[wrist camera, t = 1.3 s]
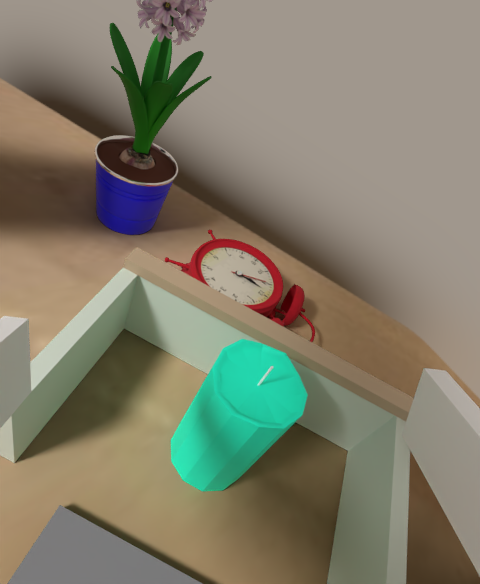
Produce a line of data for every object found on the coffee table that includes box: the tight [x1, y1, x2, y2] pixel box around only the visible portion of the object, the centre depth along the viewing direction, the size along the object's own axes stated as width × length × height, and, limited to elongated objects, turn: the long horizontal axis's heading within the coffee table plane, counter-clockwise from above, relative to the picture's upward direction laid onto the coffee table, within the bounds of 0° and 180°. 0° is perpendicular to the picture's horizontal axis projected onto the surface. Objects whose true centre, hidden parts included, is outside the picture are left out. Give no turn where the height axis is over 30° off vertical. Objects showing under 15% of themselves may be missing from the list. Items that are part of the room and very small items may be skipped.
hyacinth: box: [94, 0, 212, 235], centre depth 36 cm, size 9×10×30 cm
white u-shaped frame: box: [0, 247, 414, 584], centre depth 29 cm, size 24×14×8 cm, turn 69°
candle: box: [171, 339, 308, 491], centre depth 27 cm, size 6×6×12 cm
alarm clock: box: [165, 230, 315, 342], centre depth 41 cm, size 11×6×15 cm
